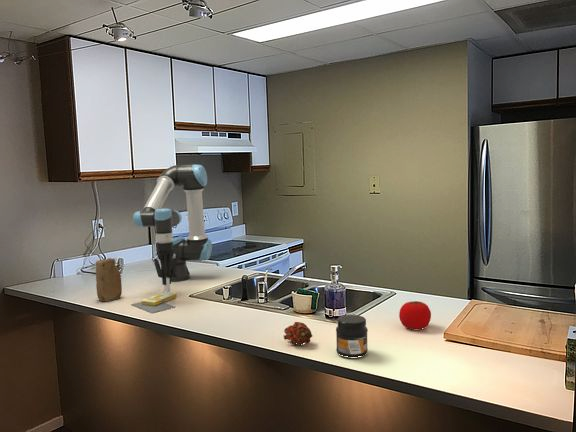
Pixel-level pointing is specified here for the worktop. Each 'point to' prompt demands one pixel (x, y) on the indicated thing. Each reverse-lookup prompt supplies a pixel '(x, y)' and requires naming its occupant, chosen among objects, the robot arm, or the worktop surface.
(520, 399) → the worktop surface
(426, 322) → the tomato
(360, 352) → the supplement container
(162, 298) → the candy box
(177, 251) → the robot arm
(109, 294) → the block
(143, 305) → the mat
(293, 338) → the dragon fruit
